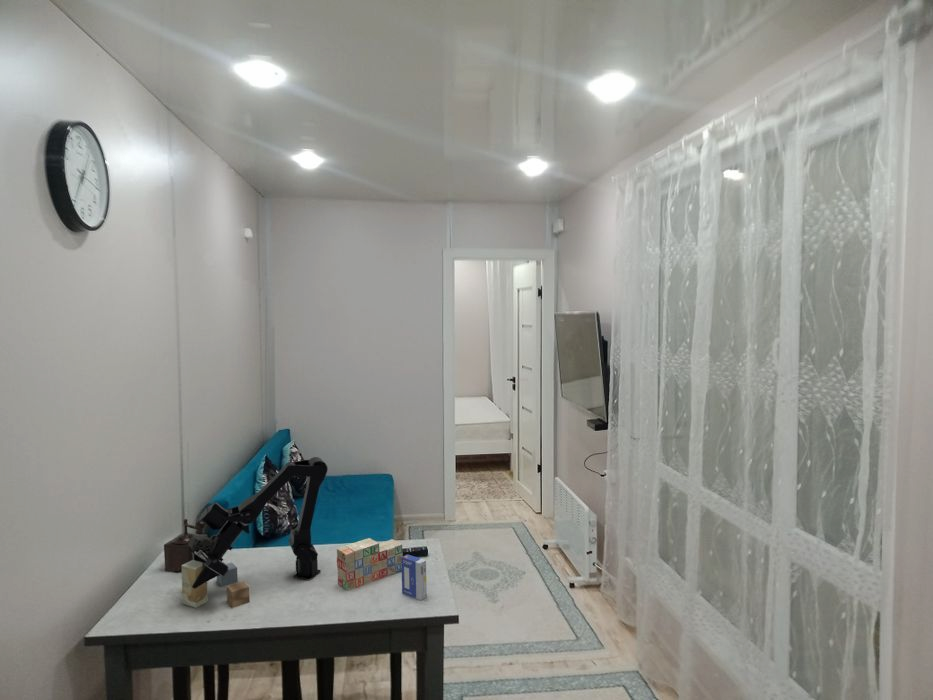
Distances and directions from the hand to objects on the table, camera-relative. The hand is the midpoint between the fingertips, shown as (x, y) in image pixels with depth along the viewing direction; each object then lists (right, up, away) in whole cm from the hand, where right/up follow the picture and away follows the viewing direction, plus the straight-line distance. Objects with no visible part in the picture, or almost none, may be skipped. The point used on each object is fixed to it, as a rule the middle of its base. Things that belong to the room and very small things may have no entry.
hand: (189, 583), depth 172 cm
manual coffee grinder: (-12, -5, +27) cm, 30 cm away
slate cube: (+5, -6, +15) cm, 17 cm away
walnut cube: (+14, -6, +2) cm, 16 cm away
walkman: (+68, -6, +5) cm, 68 cm away
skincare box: (+1, -7, +1) cm, 7 cm away
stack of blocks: (+52, -5, +17) cm, 55 cm away
